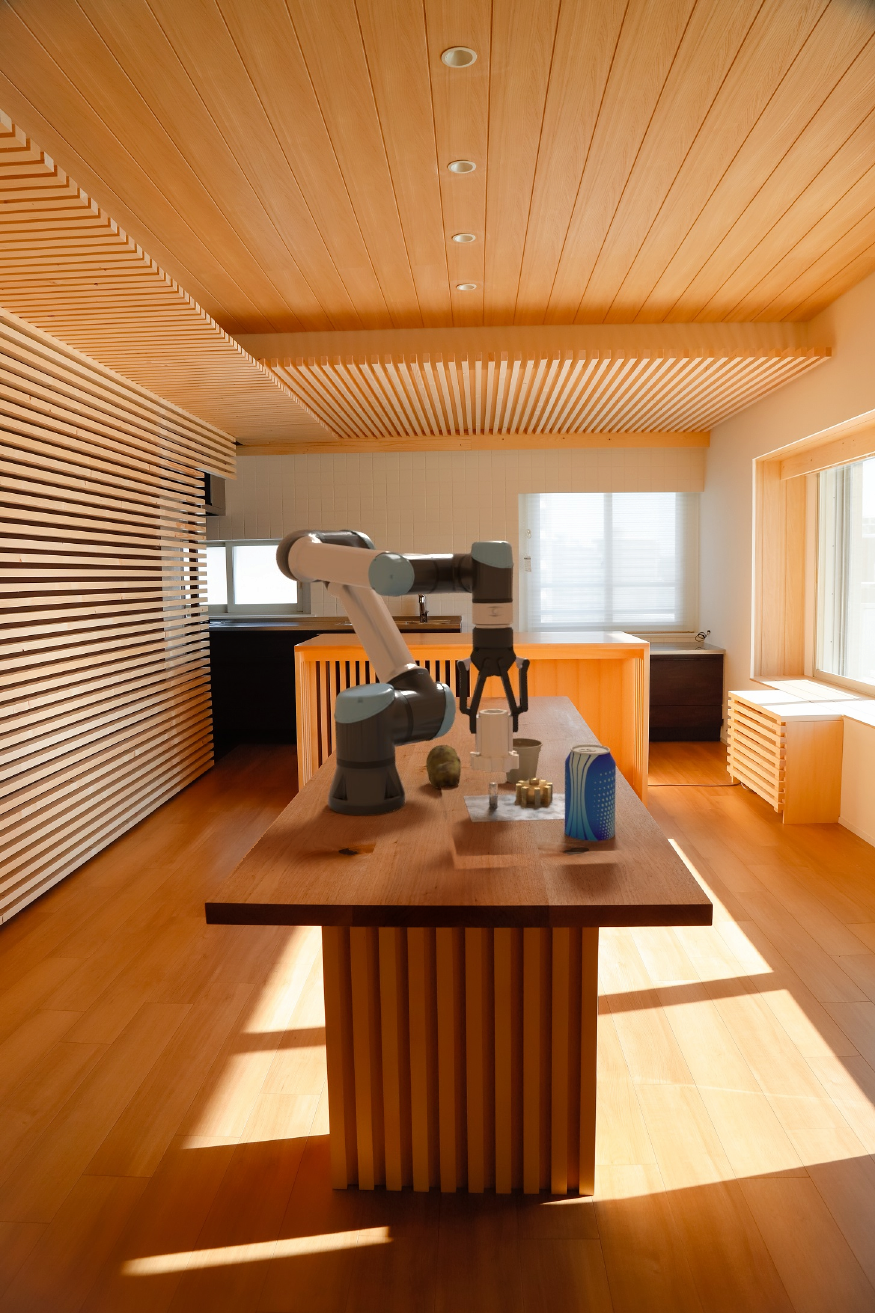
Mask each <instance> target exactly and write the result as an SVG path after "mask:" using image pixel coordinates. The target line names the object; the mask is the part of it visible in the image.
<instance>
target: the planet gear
mask: <svg viewBox="0 0 875 1313" xmlns="http://www.w3.org/2000/svg"><path fill="white" fill-rule="evenodd" d="M509 712H510V711H508V710H507V709H502V708H501V709H499V708H489V709H488V708H486V709H482V710H478V715H479V716H480V717H481V752H477V751H470V752H469V766H470V769H471V771H482V772H484V773H485V774H492V773H498V772H502V773H505V774H506V772H510V770H511V769H518V768H519V755H518V754H517V751H514V750H513V751H509V714H510V713H509Z"/></svg>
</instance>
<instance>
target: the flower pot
mask: <svg viewBox="0 0 875 1313" xmlns="http://www.w3.org/2000/svg"><path fill="white" fill-rule="evenodd" d="M543 746H544V742H543V741H542V740H539V739H536V738H530V737H513V750H514V751H517V754H518V755H519V768H518V769H511V770H510V772H506V773H505V776H506V778H505V779H506V782H508V783H509V784H511V785H512V784H518V781H528V779H529V778H537V771H538V764H539V756H540V753H541V751H542V747H543Z"/></svg>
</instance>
